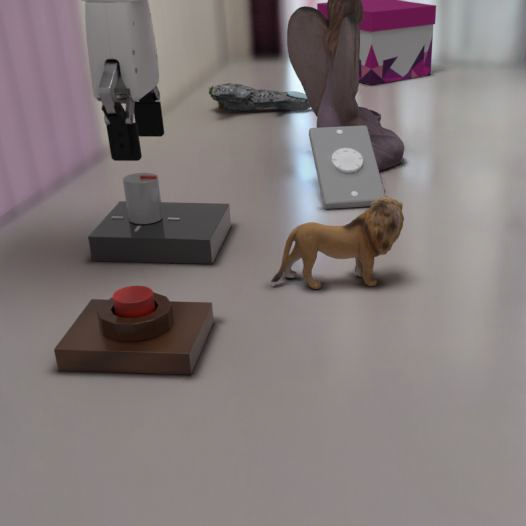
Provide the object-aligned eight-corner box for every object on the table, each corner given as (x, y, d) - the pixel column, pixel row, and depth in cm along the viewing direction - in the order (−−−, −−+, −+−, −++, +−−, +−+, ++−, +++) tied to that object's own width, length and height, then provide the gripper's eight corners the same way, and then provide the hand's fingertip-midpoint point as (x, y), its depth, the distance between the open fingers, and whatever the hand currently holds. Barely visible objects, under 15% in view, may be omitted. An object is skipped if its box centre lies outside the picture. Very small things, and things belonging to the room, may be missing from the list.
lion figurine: (394, 264, 92) (396, 188, 87) (408, 283, 87) (412, 204, 83) (267, 277, 88) (263, 199, 84) (275, 297, 84) (272, 216, 80)
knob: (124, 224, 94) (118, 180, 91) (133, 212, 97) (128, 169, 95) (157, 224, 94) (152, 181, 91) (166, 213, 97) (161, 170, 95)
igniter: (58, 370, 71) (49, 331, 69) (94, 318, 80) (88, 282, 78) (191, 374, 71) (187, 335, 69) (213, 322, 79) (210, 285, 77)
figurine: (419, 169, 123) (428, -8, 110) (331, 181, 118) (329, -3, 105) (369, 140, 137) (372, -20, 124) (288, 150, 132) (283, -16, 119)
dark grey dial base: (91, 261, 92) (87, 235, 90) (122, 223, 102) (119, 199, 101) (212, 264, 91) (209, 238, 90) (231, 226, 102) (229, 202, 100)
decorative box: (378, 63, 198) (380, -3, 191) (432, 75, 186) (436, 5, 178) (318, 72, 188) (317, 3, 180) (370, 85, 175) (372, 12, 168)
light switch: (325, 199, 106) (309, 122, 113) (322, 228, 111) (306, 153, 118) (388, 195, 107) (367, 119, 115) (382, 224, 112) (363, 150, 120)
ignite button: (109, 319, 72) (107, 302, 71) (121, 301, 75) (119, 284, 74) (149, 320, 72) (146, 303, 71) (159, 302, 75) (157, 285, 74)
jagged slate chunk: (314, 115, 147) (315, 84, 146) (204, 108, 145) (205, 77, 144) (311, 118, 163) (312, 91, 162) (212, 112, 161) (212, 85, 160)
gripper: (106, -25, 90) (129, 127, 99) (49, -7, 75) (81, 170, 84) (172, -25, 90) (189, 128, 99) (127, -8, 75) (151, 170, 84)
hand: (139, 147), depth 91 cm, fingers open, 9 cm apart
